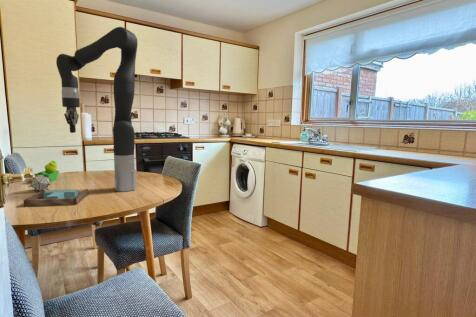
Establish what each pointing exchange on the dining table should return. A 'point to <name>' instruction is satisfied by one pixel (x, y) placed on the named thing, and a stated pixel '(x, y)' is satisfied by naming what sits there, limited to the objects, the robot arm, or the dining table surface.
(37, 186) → the game die
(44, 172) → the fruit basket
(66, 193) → the teal T block
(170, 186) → the dining table surface
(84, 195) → the walnut bay
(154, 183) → the dining table surface
